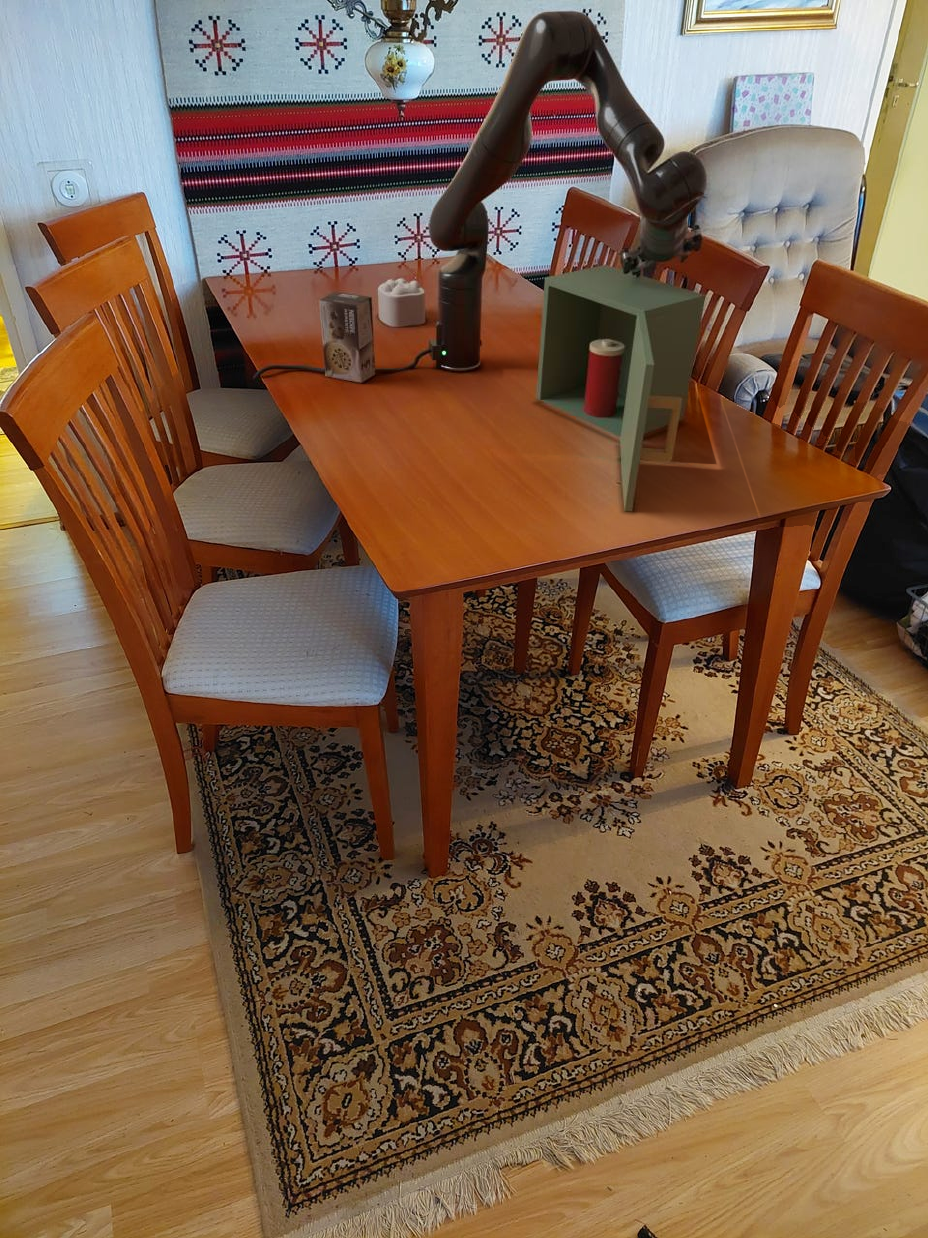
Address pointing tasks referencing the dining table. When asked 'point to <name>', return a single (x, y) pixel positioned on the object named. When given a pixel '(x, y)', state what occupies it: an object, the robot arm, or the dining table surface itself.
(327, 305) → the coffee box
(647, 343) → the cupboard door
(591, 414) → the red canister
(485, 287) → the dining table surface
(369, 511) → the dining table surface
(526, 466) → the dining table surface
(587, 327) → the cupboard
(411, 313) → the white lumpy-topped cup
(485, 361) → the dining table surface
